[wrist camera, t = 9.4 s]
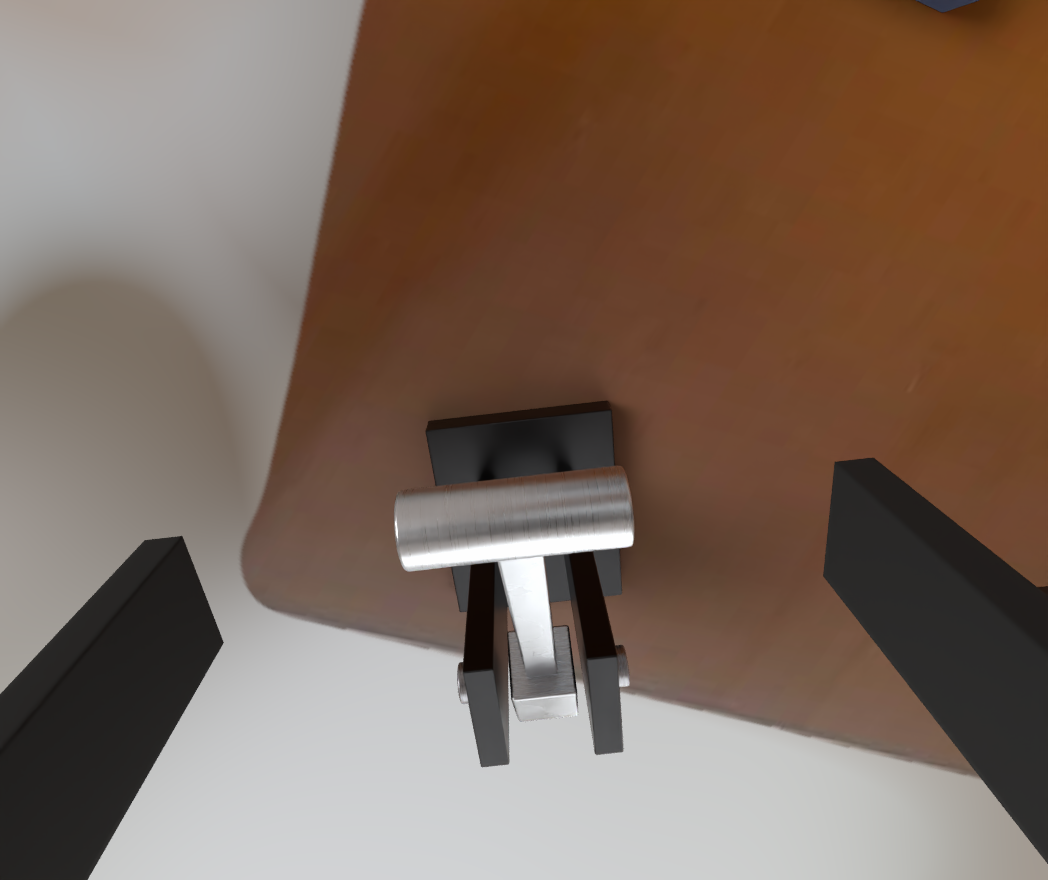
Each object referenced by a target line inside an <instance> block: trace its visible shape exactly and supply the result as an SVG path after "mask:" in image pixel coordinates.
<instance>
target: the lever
mask: <svg viewBox="0 0 1048 880" xmlns="http://www.w3.org/2000/svg"><path fill="white" fill-rule="evenodd" d="M394 530H395V540H396V546H397V551H398V555H399V559H400V561H401V564H402V566H403V568H404V569H405V570H406V571H418V570H427V569H436V568H445V567H454V566H463V565H472V564H481V563H490V562H498V566H499V570H500V574H501V578H502V582H503V586H504V590H505V594H506V598H507V602H508V606H509V610H510V614H511V618H512V622H513V626H514V630H515V631H509V632H508V633H507V641H508V657H509V671H510V687H511V700H512V702H513V705H514V708H515V711H516V714H517V717H518V720H519V721H520V722H522V721H532V720H541V719H550V718H560V717H569V716H576V715H578V702H577V688H576V680H575V672H574V664H573V656H572V649H571V641H570V633H569V627H568V626H567V625H563V626H554V627H553V623H552V615H551V606H550V598H549V589H548V581H547V573H546V564H545V556H553V555H562V554H571V553H580V552H589V551H598V550H607V549H616V548H625V547H630V546H632V545H633V542H634V535H635V527H634V513H633V504H632V498H631V492H630V487H629V482H628V478H627V475H626V472H625V470H624V468H623V467H622V466H611V467H602V468H593V469H584V470H575V471H566V472H557V473H549V474H540V475H531V476H522V477H513V478H504V479H495V480H487V481H478V482H469V483H460V484H451V485H442V486H434V487H425V488H416V489H407V490H401V491H400V492H398V494H397V497H396V501H395V507H394Z"/></svg>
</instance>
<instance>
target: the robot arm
mask: <svg viewBox="0 0 1048 880" xmlns="http://www.w3.org/2000/svg"><path fill="white" fill-rule="evenodd" d="M823 576H824V578H825V579H826V580H827V581H828V583H829V584H830V585H831V587H832V588H833V589H834V590H835V592H836V593H837V594H838V596H839V597H840V598H841V599H842V601H843V602H844V603H845V604H846V606H847V607H848V608H849V610H850V611H851V612H852V613H853V615H854V616H855V617H856V619H857V620H858V621H859V622H860V624H861V625H862V626H863V628H864V629H865V630H866V631H867V633H868V634H869V635H870V637H871V638H872V639H873V640H874V642H875V643H876V644H877V646H878V647H879V648H880V649H881V651H882V652H883V653H884V654H885V656H886V657H887V658H888V660H889V661H890V662H891V663H892V665H893V666H894V667H895V669H896V670H897V671H898V672H899V674H900V675H901V676H902V678H903V679H904V680H905V681H906V683H907V684H908V685H909V687H910V688H911V689H912V690H913V692H914V693H915V694H916V696H917V697H918V698H919V699H920V701H921V702H922V703H923V705H924V706H925V707H926V708H927V710H928V711H929V712H930V713H931V715H932V716H933V717H934V719H935V720H936V721H937V722H938V724H939V725H940V726H941V728H942V729H943V730H944V731H945V733H946V734H947V735H948V737H949V738H950V739H951V740H952V742H953V743H954V744H955V746H956V747H957V748H958V749H959V751H960V752H961V753H962V755H963V756H964V757H965V758H966V760H967V761H968V762H969V763H970V765H971V766H972V767H973V769H974V770H975V771H976V772H977V774H978V775H979V776H980V778H981V779H982V780H983V781H984V783H985V784H986V785H987V787H988V788H989V789H990V790H991V792H992V793H993V794H994V795H995V797H996V798H997V799H998V801H999V802H1000V803H1001V804H1002V806H1003V807H1004V808H1005V810H1006V811H1007V812H1008V813H1009V815H1010V816H1011V817H1012V819H1013V820H1014V821H1015V822H1016V824H1017V825H1018V826H1019V828H1020V829H1021V830H1022V831H1023V833H1024V834H1025V835H1026V837H1027V838H1028V839H1029V840H1030V842H1031V843H1032V844H1033V845H1034V847H1035V848H1036V849H1037V850H1038V852H1039V853H1040V855H1041V856H1042V857H1043V858H1044V859H1045V861H1046V862H1047V864H1048V586H1045V587H1036V586H1035V585H1033V584H1032V583H1031V582H1030V581H1028V580H1027V579H1026V578H1025V577H1023V576H1022V575H1021V574H1020V573H1018V572H1017V571H1016V570H1015V569H1013V568H1012V567H1011V566H1009V565H1008V564H1007V563H1006V562H1004V561H1003V560H1002V559H1001V558H999V557H998V556H997V555H996V554H994V553H993V552H992V551H991V550H989V549H988V548H987V547H986V546H984V545H983V544H982V543H980V542H979V541H978V540H977V539H975V538H974V537H973V536H972V535H970V534H969V533H968V532H967V531H965V530H964V529H963V528H962V527H960V526H959V525H958V524H957V523H955V522H954V521H953V520H951V519H950V518H949V517H948V516H946V515H945V514H944V513H943V512H941V511H940V510H939V509H938V508H936V507H935V506H934V505H933V504H931V503H930V502H929V501H928V500H926V499H925V498H924V497H922V496H921V495H920V494H919V493H917V492H916V491H915V490H914V489H912V488H911V487H910V486H909V485H907V484H906V483H905V482H904V481H902V480H901V479H900V478H899V477H897V476H896V475H895V474H893V473H892V472H891V471H890V470H888V469H887V468H886V467H885V466H883V465H882V464H881V463H880V462H878V461H877V460H876V459H875V458H866V459H857V460H848V461H839V462H835V465H834V475H833V485H832V495H831V505H830V515H829V525H828V534H827V544H826V554H825V564H824V574H823ZM223 643H224V642H223V640H222V637H221V635H220V632H219V629H218V627H217V624H216V622H215V619H214V616H213V614H212V611H211V609H210V606H209V604H208V601H207V598H206V596H205V593H204V591H203V588H202V586H201V583H200V580H199V578H198V575H197V573H196V570H195V568H194V565H193V562H192V560H191V557H190V555H189V552H188V550H187V547H186V544H185V542H184V539H183V537H182V536H179V537H171V538H161V539H152V540H145V541H144V542H143V543H142V544H141V545H140V546H139V547H138V548H137V549H136V550H135V551H134V552H133V553H132V554H131V555H130V557H129V558H128V559H127V560H126V561H125V562H124V563H123V564H122V565H121V566H120V567H119V568H118V569H117V570H116V571H115V573H114V574H113V575H112V576H111V577H110V578H109V579H108V580H107V581H106V582H105V583H104V584H103V585H102V586H101V588H100V589H99V590H98V591H97V592H96V593H95V594H94V595H93V596H92V597H91V598H90V599H89V600H88V602H86V603H85V605H84V606H83V607H82V608H81V609H80V610H79V611H78V612H77V613H76V614H75V615H74V616H73V617H72V618H71V619H70V620H69V622H68V623H67V624H66V625H65V626H64V627H63V628H62V629H61V630H60V631H59V632H58V633H57V634H56V636H55V637H54V638H53V639H52V640H51V641H50V642H49V643H48V644H47V645H46V646H45V647H44V648H43V649H42V650H41V651H40V652H39V654H38V655H37V656H36V657H35V658H34V659H33V660H32V661H31V662H30V663H29V664H28V665H27V666H26V668H25V669H24V670H23V671H22V672H21V673H20V674H19V675H18V676H17V677H16V678H15V679H14V680H13V681H12V682H11V683H10V684H9V685H8V687H7V688H6V689H5V690H4V691H3V692H2V693H1V694H0V880H88V878H89V876H90V874H91V873H92V871H93V869H94V867H95V866H96V864H97V862H98V860H99V859H100V857H101V855H102V854H103V852H104V850H105V848H106V847H107V845H108V843H109V841H110V840H111V838H112V836H113V834H114V833H115V831H116V829H117V827H118V826H119V824H120V822H121V821H122V819H123V817H124V815H125V814H126V812H127V810H128V808H129V807H130V805H131V803H132V801H133V800H134V798H135V796H136V794H137V793H138V791H139V789H140V788H141V786H142V784H143V782H144V781H145V779H146V777H147V775H148V774H149V772H150V770H151V768H152V767H153V765H154V763H155V761H156V760H157V758H158V756H159V754H160V753H161V751H162V749H163V747H164V746H165V744H166V742H167V740H168V739H169V737H170V735H171V734H172V732H173V730H174V728H175V726H176V725H177V723H178V721H179V720H180V718H181V716H182V714H183V713H184V711H185V709H186V707H187V706H188V704H189V702H190V700H191V699H192V697H193V695H194V694H195V692H196V690H197V688H198V687H199V685H200V683H201V681H202V680H203V678H204V676H205V674H206V672H207V671H208V669H209V667H210V666H211V664H212V662H213V660H214V659H215V657H216V655H217V653H218V652H219V650H220V648H221V646H222V645H223Z"/></svg>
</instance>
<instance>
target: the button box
mask: <svg viewBox="0 0 1048 880" xmlns="http://www.w3.org/2000/svg"><path fill="white" fill-rule="evenodd" d="M916 1H918V2H920V3H923V4H925V5H927V6H929V7H931V8H933V9H936V10H938V11H940V12H946V11H949V10H952V9H955V8H958V7H961V6H964V5H967V4H970V3H973V2H976V1H979V0H916Z"/></svg>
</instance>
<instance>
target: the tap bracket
mask: <svg viewBox="0 0 1048 880" xmlns="http://www.w3.org/2000/svg"><path fill="white" fill-rule="evenodd" d="M426 437H427V442H428V447H429V452H430V458H431V463H432V468H433V474H434V479H435V484H436V486H442V485H451V484H460V483H469V482H478V481H487V480H495V479H504V478H513V477H522V476H531V475H540V474H549V473H557V472H566V471H575V470H584V469H593V468H602V467H611V466H615V458H614V441H613V423H612V410H611V408H610V405H609V403H608V401H600V402H592V403H583V404H574V405H565V406H557V407H548V408H539V409H530V410H522V411H513V412H504V413H495V414H487V415H478V416H469V417H461V418H452V419H443V420H434V421H428V425H427V428H426ZM545 564H546V573H547V581H548V589H549V598H550V602H559V601H568V600H571V605H572V611H573V617H574V624H575V630H576V636H577V643H578V649H579V655H580V662H581V668H582V674H583V681H584V687H585V693H586V700H587V706H588V712H589V718H590V725H591V731H592V738H593V744H594V751H595V754H596V755H600V754H609V753H618V752H623V735H622V719H621V703H620V687H624V686H629V683H630V679H629V669H628V662H627V656H626V652H625V648H624V646H623V645H616V646H615V643H614V638H613V634H612V630H611V626H610V621H609V617H608V613H607V609H606V604H605V600H604V596H613V595H621V594H622V583H621V565H620V548H616V549H607V550H598V551H589V552H580V553H571V554H562V555H553V556H545ZM451 568H452V574H453V579H454V584H455V589H456V595H457V600H458V605H459V610H460V612H467V619H466V632H465V646H464V659H463V662H460V663H459V665H458V671H457V672H458V673H457V681H458V693H459V698H460V701H461V703H462V704H466V703H469V708H470V713H471V718H472V723H473V729H474V733H475V739H476V744H477V748H478V754H479V758H480V764H481V767H489V766H498V765H507V764H509V704H508V641H507V633H508V631H507V607H509V606H508V602H507V598H506V594H505V590H504V586H503V582H502V578H501V574H500V570H499V566H498V562H490V563H481V564H472V565H463V566H454V567H451Z"/></svg>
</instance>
